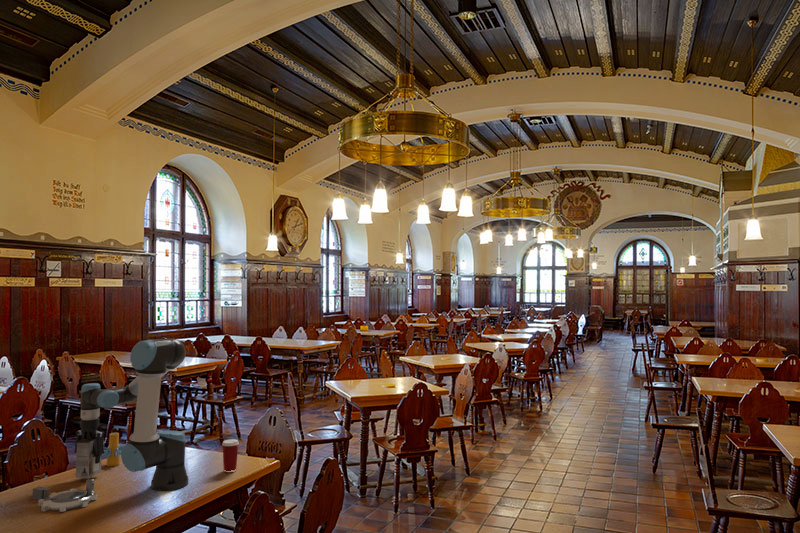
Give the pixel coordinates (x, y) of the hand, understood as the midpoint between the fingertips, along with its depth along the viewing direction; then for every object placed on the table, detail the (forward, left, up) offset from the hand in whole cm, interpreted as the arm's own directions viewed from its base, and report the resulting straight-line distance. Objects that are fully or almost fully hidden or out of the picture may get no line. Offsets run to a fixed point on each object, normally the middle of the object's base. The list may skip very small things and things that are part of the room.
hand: (88, 469), depth 246 cm
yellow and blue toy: (+6, -20, -4) cm, 22 cm away
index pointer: (-1, +24, -4) cm, 24 cm away
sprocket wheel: (-16, +24, -4) cm, 29 cm away
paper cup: (-53, -31, -4) cm, 61 cm away
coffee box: (0, 0, -3) cm, 3 cm away
